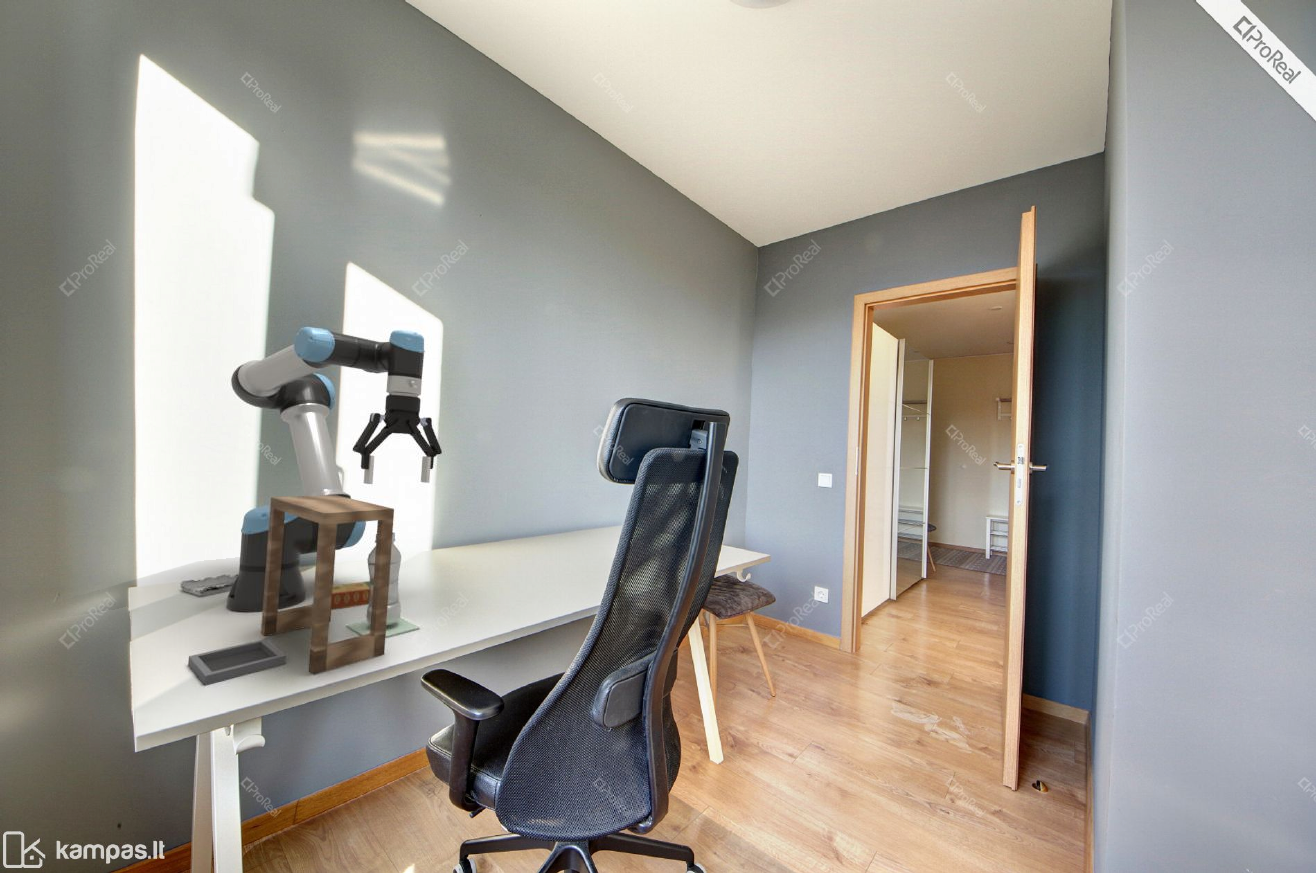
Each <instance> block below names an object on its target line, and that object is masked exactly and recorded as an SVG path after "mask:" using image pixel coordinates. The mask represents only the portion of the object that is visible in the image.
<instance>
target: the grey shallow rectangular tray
mask: <svg viewBox="0 0 1316 873" xmlns="http://www.w3.org/2000/svg"><path fill="white" fill-rule="evenodd" d="M286 661H287V655H286V654H285V653H283V651H281V650H280V649H279V648H277V647H276V646H275V645H274V644H272V643H271V642H270V641H269V640H267V639H266V638H264V639H259V640H255V641H250V642H246V643H241V644H237V645H234V646H233V645H232V646H229V647H224V648H220V649H215V650H211V651H207V652H202V653H197V654H193V655H189V656H188V660H187V662H188V663H187V664H188V666H189V668H190V669H191V670H192V671H193V672H194V674H195V675H196V676H197V677H198V678H199V680H200V681H201V683H202V684H203V685H204V686H208V685H211V684H215V683H219V682H222V681H226V680H230V679H234V678H238V677H241V676H245V675H248V674H252V673H255V672H260V671H263V670H268V669H272V668H275V666H276V667H279V666H283V665H286ZM278 665H279V666H278ZM267 668H268V669H267Z"/></svg>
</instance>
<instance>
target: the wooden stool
mask: <svg viewBox="0 0 1316 873" xmlns="http://www.w3.org/2000/svg"><path fill="white" fill-rule="evenodd" d="M269 505H270V518H269V532H268V545H267V558H266V572H265V585H264V599H263V611H261V612H262V614H261V615H262V616H261V626H260V628H261V630H260V634H261V635H262V636H263V637H268V636H271V634H273V635H276V634H283V633H286V632H290V631H295V630H299V628H300V629H303V628H302V627H304V628H309V627H311V631H310V641H309V643H310V644H309V655H308V656H309V657H308V670H307V671H308V673H310V674H311V675H312V676H314V675H317V674H321V673H325V672H327V671H331V670H335V669H338V668H341V667H346V666H348V665H349V666H350V665H353V664H356V663H358V662H361V661H365V660H369V659H373V658H376V657H379V656H382V655H385V648H386V647H385V646H386V638H385V636H386V622H387V607H388V592H389V578H390V563H391V548H392V534H393V533H394V532H393V530H394V518H395V516H394V515H395V509H394V508H393V507H388V506H383V505H379V504H375V503H370V502H367V501H363V500H359V499H358V500H357V499H354V498H351V499H350V498H346V497H342V496H338V495H323V496H305V495H303V496H301V495H300V496H277V497H275V496H274V497H270V504H269ZM285 512H286V513H289V514H293V515H296V516H299V517H302V518H305V519H308V520H311V521H314V522H317V523H319V529H318V543H317V552H316V558H315V559H316V561H315V576H314V588H313V600H312V601H313V602H312V604H309V605H304V606H299V607H298V606H297V607H292V608H288V609H281V610H279V609H278V601H279V587H280V574H281V560H282V547H283V533H284V519H285ZM364 521H366V522H375V521H377V529H376V534H377V539H376V538H375V540H376V543H375V546H376V553H375V568H374V582H373V597H372V611H371V626H370V633H369V634H365V635H358V636H353V637H349V638H345V639H341V640H338V641H334V642H331V643H329V632H330V631H329V629H330V622H331V616H332V610H331V606H332V592H333V585H334V577H335V576H334V575H335V561H336V550H335V549H336V535H337V524H340V523H352V522H364ZM294 629H295V630H294Z"/></svg>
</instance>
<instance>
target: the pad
mask: <svg viewBox="0 0 1316 873" xmlns="http://www.w3.org/2000/svg"><path fill="white" fill-rule="evenodd" d="M345 627H346V628H347V629H349V630H351V631H352V632H354V633H356V634H357V635H358V636H361V635H365V634H369V633H370V625H369V624H368V622H367V619H366V620H362V621H358V622H354V623H349V624H346V626H345ZM419 630H421V627H420V626H418V625H416V624H414V623H412V622H410V621H408V620H406V619H404V618H401V617H400V619H399V620H398V622H397V623H395V624H392V625H389V626H386V636H385V639H388V638H393V637H395V636H400V635H403V634H407V633H410V632H415V631H419Z"/></svg>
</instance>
